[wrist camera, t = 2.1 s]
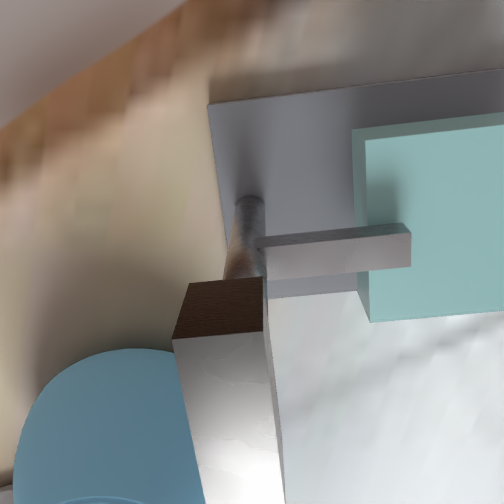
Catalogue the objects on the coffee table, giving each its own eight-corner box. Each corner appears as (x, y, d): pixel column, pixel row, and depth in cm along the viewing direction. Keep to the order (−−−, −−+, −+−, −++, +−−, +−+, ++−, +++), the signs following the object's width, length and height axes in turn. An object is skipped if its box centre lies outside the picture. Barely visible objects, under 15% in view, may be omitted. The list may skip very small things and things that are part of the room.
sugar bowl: (270, 500, 35) (274, 695, 24) (71, 510, 36) (-11, 704, 25) (252, 323, 29) (247, 476, 19) (16, 339, 30) (-119, 495, 19)
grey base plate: (529, 64, 23) (580, 66, 20) (510, 267, 28) (549, 300, 24) (208, 103, 24) (199, 111, 21) (236, 294, 28) (232, 329, 25)
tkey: (368, 149, 24) (552, 304, 9) (371, 241, 26) (526, 500, 11) (226, 165, 24) (171, 339, 9) (239, 254, 26) (209, 521, 11)
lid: (539, 107, 20) (583, 115, 18) (521, 276, 23) (556, 305, 21) (351, 129, 21) (365, 140, 18) (357, 291, 24) (369, 322, 21)
